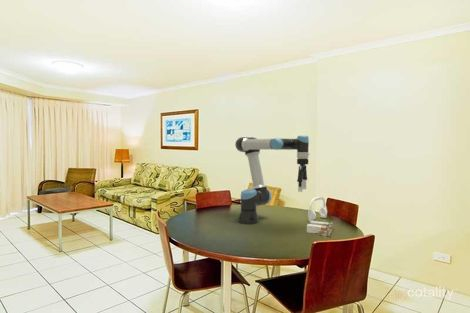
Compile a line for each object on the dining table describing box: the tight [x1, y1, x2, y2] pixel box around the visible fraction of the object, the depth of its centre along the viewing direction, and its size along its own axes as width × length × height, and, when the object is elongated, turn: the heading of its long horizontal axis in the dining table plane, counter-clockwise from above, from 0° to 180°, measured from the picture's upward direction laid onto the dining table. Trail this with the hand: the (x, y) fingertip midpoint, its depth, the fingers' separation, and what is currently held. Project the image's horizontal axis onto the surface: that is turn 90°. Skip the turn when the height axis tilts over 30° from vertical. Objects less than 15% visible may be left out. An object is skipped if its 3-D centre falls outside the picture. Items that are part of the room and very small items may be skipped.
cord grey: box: [309, 220, 330, 227], centre depth 197 cm, size 12×4×4 cm, turn 65°
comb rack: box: [316, 221, 334, 238], centre depth 191 cm, size 8×21×5 cm, turn 155°
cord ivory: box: [306, 223, 327, 234], centre depth 188 cm, size 12×4×4 cm, turn 65°
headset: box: [307, 196, 328, 223], centre depth 221 cm, size 20×7×18 cm, turn 130°
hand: (302, 190), depth 196 cm, fingers open, 12 cm apart
